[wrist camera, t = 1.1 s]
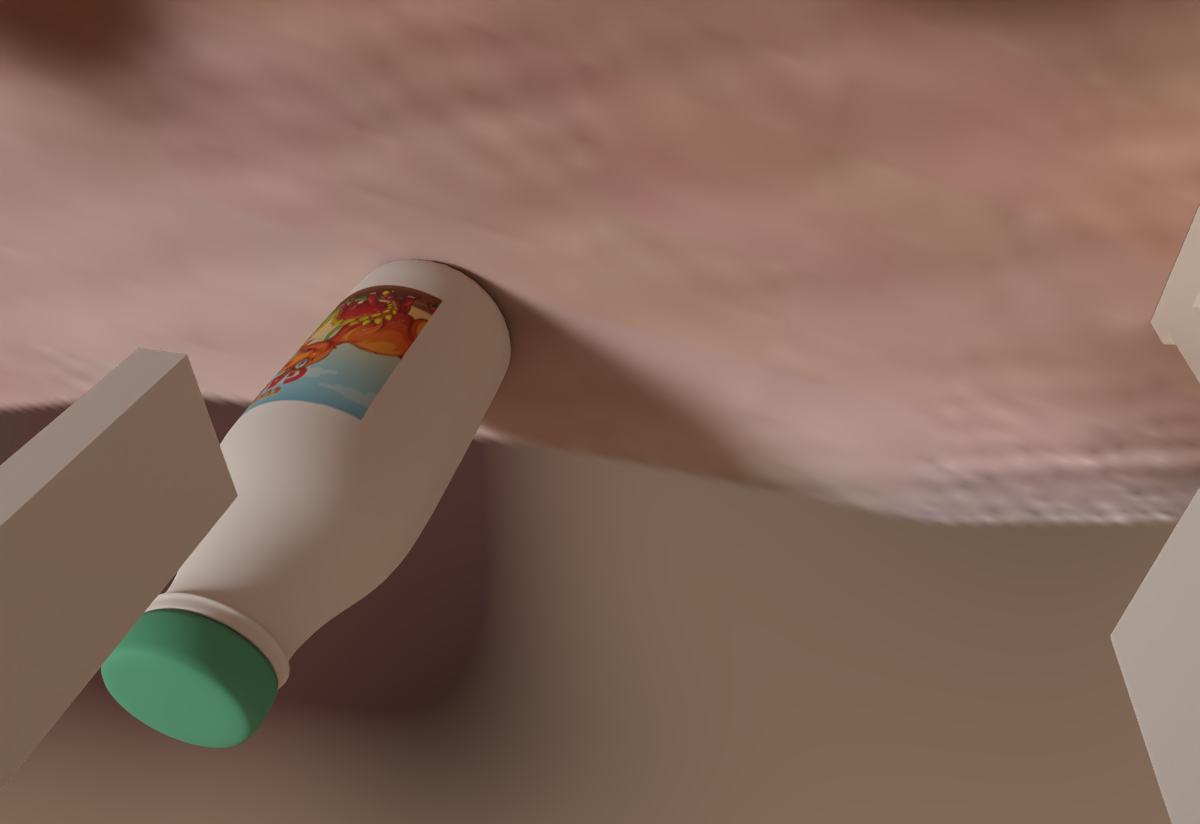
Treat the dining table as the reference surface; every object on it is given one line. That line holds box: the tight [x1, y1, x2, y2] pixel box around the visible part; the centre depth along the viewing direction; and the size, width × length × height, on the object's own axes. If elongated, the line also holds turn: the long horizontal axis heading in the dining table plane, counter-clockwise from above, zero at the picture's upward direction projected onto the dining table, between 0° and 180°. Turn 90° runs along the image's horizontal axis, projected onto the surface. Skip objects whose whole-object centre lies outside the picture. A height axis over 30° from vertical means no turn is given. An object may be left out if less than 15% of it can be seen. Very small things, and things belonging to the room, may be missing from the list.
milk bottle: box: [101, 259, 511, 748], centre depth 31 cm, size 8×8×20 cm
